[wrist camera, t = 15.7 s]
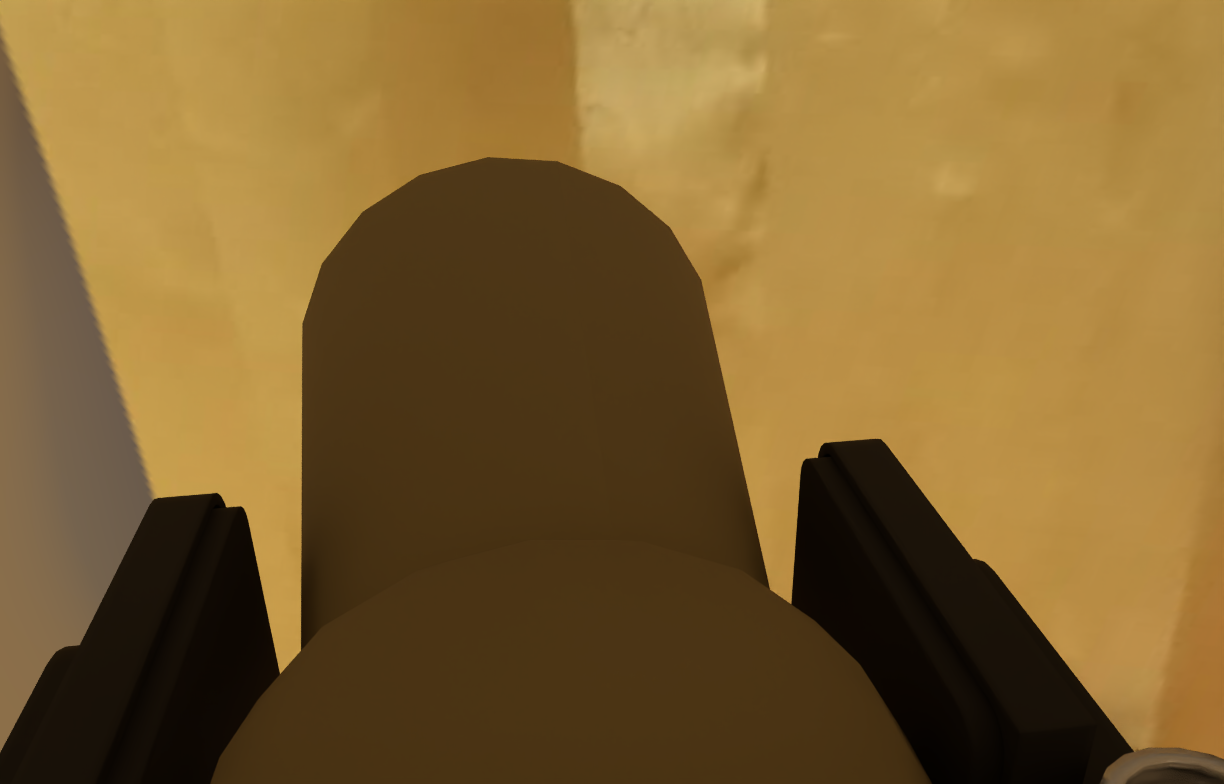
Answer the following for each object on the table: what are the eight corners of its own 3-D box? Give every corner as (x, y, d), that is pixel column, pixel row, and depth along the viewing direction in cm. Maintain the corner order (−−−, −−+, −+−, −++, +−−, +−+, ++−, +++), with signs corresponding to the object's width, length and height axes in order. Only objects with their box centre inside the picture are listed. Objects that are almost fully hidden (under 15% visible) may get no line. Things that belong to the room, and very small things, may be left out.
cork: (579, 584, 17) (735, 1494, 8) (231, 433, 15) (-171, 1410, 6) (790, 286, 15) (1360, 986, 6) (424, 70, 13) (333, 576, 4)
